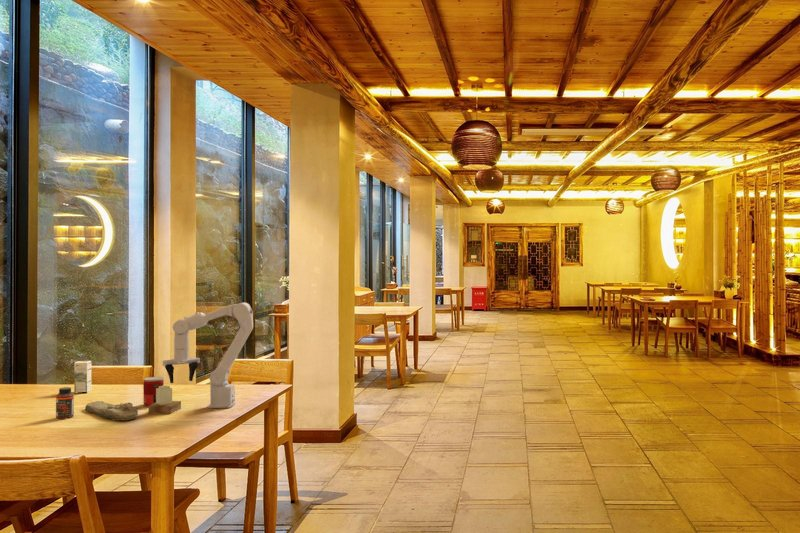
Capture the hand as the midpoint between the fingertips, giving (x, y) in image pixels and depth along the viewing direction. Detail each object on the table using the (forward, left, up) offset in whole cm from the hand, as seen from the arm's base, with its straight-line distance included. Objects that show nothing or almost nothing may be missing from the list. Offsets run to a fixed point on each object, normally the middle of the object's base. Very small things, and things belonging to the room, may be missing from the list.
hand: (181, 381), depth 243 cm
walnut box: (+4, +7, -11) cm, 13 cm away
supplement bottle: (+38, +18, -11) cm, 43 cm away
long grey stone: (+23, +12, -11) cm, 28 cm away
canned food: (+14, -5, -11) cm, 18 cm away
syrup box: (+59, -31, -11) cm, 67 cm away
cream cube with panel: (+4, +7, -7) cm, 11 cm away
